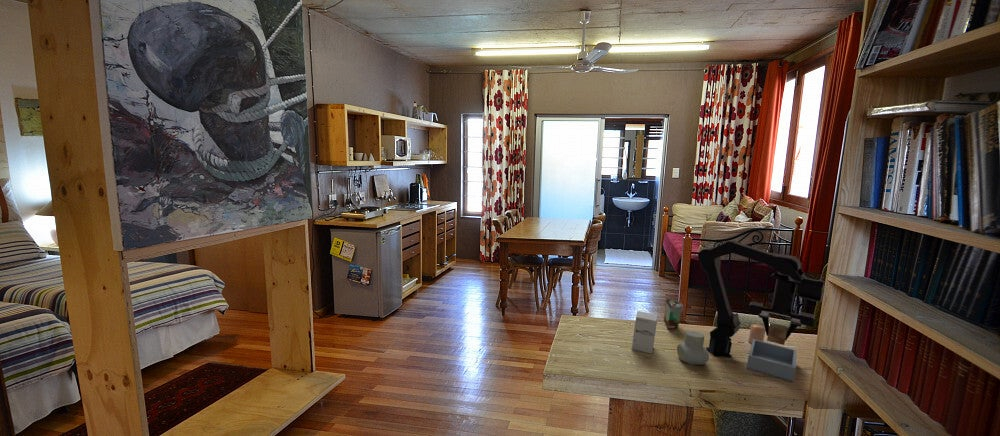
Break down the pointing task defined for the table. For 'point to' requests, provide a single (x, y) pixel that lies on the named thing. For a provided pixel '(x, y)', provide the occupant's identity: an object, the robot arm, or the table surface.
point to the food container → (672, 313)
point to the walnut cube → (777, 333)
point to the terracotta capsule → (756, 333)
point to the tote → (772, 360)
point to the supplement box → (644, 332)
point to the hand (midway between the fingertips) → (776, 337)
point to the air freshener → (693, 349)
